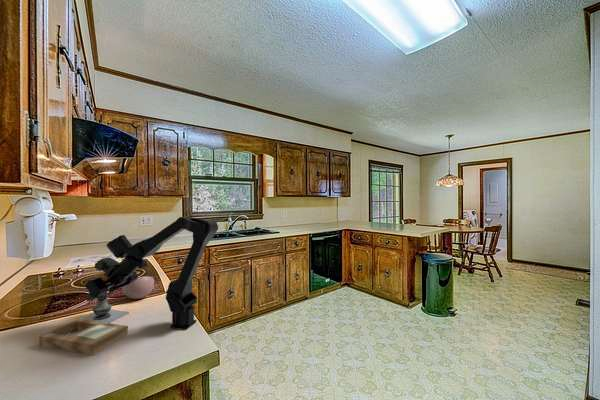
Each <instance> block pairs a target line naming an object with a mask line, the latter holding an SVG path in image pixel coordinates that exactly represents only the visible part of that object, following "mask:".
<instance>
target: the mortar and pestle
mask: <svg viewBox="0 0 600 400" xmlns="http://www.w3.org/2000/svg"><path fill="white" fill-rule="evenodd" d="M140 273H141V272H140V271H137V272H136V274H137V275H138V279H137V280H136V281H134V282H132V283H130V284H128V285H126V286H123V287H122V291H123V293H124V295H125V296H126V297H128V298H129V299H133V300H138V299H139V300H140V299H143V298H145V297H147V296H148V295H150V293H151V292H152V291H153V289H154V286H155V279H154V277H153V276H146V275H145V276H139V275H140Z"/></svg>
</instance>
